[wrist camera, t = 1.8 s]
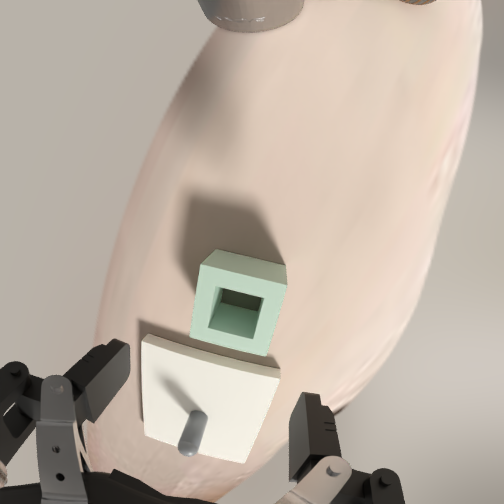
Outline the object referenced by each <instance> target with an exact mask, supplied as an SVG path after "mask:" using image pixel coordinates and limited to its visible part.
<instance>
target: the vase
mask: <svg viewBox="0 0 504 504" xmlns="http://www.w3.org/2000/svg"><path fill="white" fill-rule="evenodd" d="M400 1H403V2H405V3H409V4H414V5H425V4H429V3H432V2H434V1H436V0H400Z"/></svg>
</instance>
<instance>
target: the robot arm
mask: <svg viewBox="0 0 504 504" xmlns="http://www.w3.org/2000/svg"><path fill="white" fill-rule="evenodd" d="M198 2H199V4H200V6H201V8H202V10H203V12H204V14H205V16H206V17H207V19H209V20H210V21H211V22H212V23H213V24H215V25H217V26H219V27H221V28H224V29H227V30H231V31H237V32H260V31H266V30H271V29H275V28H278V27H280V26H283V25H285V24H287V23H288V22H290V21H292V20H293V19H294V18H295V17H296V16H298V15H299V13H300V12H301V10H302V8H303V4H304V0H198ZM129 374H130V346H129V344H127V343H125V342H122V341H120V340H117V339H112V340H111V341H110V342H109V343H108V344H107V345H106V346H105V345H103V344H101V345H99V346H96V347H94V348H92V349H91V350H90V351H89V352H88V353H87V355H85V356H84V357H82V359H80V360H79V361H78V362H77V363H76V364H75V365H74V366H73V367H71V368H70V369H69V370H68V371H67V372H66V373H65V374H64V375H63V376H60V375H51V376H48V377H47V378H45V379H42V378H39V377H36V376H33V375H30V374H29V370H28V368H27V366H26V365H25V364H23V363H21V362H18V361H14V362H9V363H7V364H6V365H5V366H4V367H2V368H1V369H0V504H216V503H212V502H207V501H203V500H199V499H193V498H181V497H172V496H166V495H163V494H161V493H160V492H158V491H156V490H155V489H153V488H151V487H150V486H148V485H146V484H145V483H143V482H142V481H140V480H139V479H136V478H134V477H131V476H129V475H127V474H125V473H122V472H120V471H118V470H116V469H113V471H112V473H111V474H110V473H105V472H93V469H92V466H91V463H90V459H89V455H88V451H87V445H86V440H85V434H84V428H83V422H84V421H85V420H86V419H87V420H89V421H91V422H92V423H95V421H96V420H97V419H98V417H99V416H100V415H101V413H102V412H103V411H104V409H105V408H106V407H107V405H108V404H109V403H110V401H111V400H112V399H113V397H114V396H115V395H116V394H117V392H118V391H119V390H120V388H121V387H122V386H123V384H124V383H125V382H126V381H127V379H128V377H129ZM14 402H15V404H14V405H13V407H12V408H11V409H10V410H9V411H8V412H7V413H6V414H5V415H4V413H5V412H6V410H7V409H8V408H9V407H10V406H11V405H12V404H13V403H14ZM3 415H4V416H3ZM35 427H36V444H37V458H38V469H39V477H40V482H39V483H33V484H26V485H18V486H8V487H4V485H5V484H6V483H7V470H6V466H7V464H8V463H9V461H10V460H11V459H12V457H13V456H14V455H15V453H16V452H17V451H18V449H19V448H20V447H21V445H22V444H23V443H24V441H25V440H26V439H27V438H28V436H29V435H30V434H31V433H32V431H33V430H34V429H35ZM289 482H297V485H296V486H295V487H294V488H293V489H292V490H291V491H289V492H288V493H286V494H285V495H284V496H283V497H282V498H281V499H280V500H279V501H277V502H276V503H275V504H405V501H404V496H403V492H402V487H401V483H400V479H399V477H398V475H397V474H396V473H395V472H394V471H392V470H390V469H386V468H381V469H377V470H376V471H374V472H373V473H372V474H368V473H364V472H360V471H356V470H354V469H352V468H351V466H350V464H349V463H348V462H347V461H346V460H345V459H343V458H342V457H341V450H340V445H339V440H338V435H337V432H336V425H335V419H334V414H333V413H332V411H331V410H330V409H329V407H328V406H323V405H321V400H320V395H319V394H314V393H307V392H302V393H301V395H300V397H299V399H298V402H297V404H296V406H295V408H294V410H293V412H292V414H291V417H290V421H289Z"/></svg>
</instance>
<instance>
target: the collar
mask: <svg viewBox="0 0 504 504" xmlns="http://www.w3.org/2000/svg"><path fill="white" fill-rule="evenodd" d="M223 288H225V289H229V290H233V291H237V292H241V293H245V294H249V295H253V296H258V297H262V298H261V302H260V306H259V310H258V311H254V310H250V309H246V308H241V307H237V306H233V305H229V304H226V303H222V302H221V298H222V293H223ZM286 288H287V275H286V265H282V264H277V263H273V262H269V261H265V260H261V259H256V258H252V257H248V256H244V255H240V254H236V253H232V252H227V251H223V250H219V249H215V250H214V251H213V252H212V253H211V254H210V255H209V256H208V257H207V258H206V259H205V260H204V261H203V262H202V263H201V265H200V270H199V276H198V283H197V289H196V295H195V302H194V308H193V315H192V322H191V329H190V336H189V337H191V338H194V339H198V340H201V341H205V342H208V343H212V344H216V345H219V346H223V347H227V348H231V349H235V350H239V351H243V352H247V353H252V354H256V355H261V356H265V357H266V355H267V352H268V349H269V346H270V342H271V339H272V336H273V333H274V329H275V326H276V323H277V319H278V316H279V313H280V309H281V306H282V302H283V299H284V295H285V292H286Z"/></svg>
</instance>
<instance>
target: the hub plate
mask: <svg viewBox="0 0 504 504" xmlns="http://www.w3.org/2000/svg"><path fill="white" fill-rule="evenodd" d="M141 372H142V401H143V417H144V430H145V435H146V436H148V437H151V438H153V439H156V440H159V441H162V442H164V443H167V444H170V445H173V446H176V447H178V450H179V452H180V453H181V454H182V455H184V456H188V457H190V456H194V455H195V454H196V453H200V454H204V455H207V456H211V457H215V458H220V459H224V460H229V461H234V462H239V463H245V461H246V459H247V457H248V454H249V452H250V450H251V448H252V446H253V444H254V441H255V439H256V437H257V435H258V432H259V430H260V428H261V425H262V423H263V421H264V418H265V416H266V414H267V411H268V409H269V406H270V404H271V401H272V399H273V396H274V394H275V391H276V389H277V386H278V384H279V381H280V369H277V368H272V367H268V366H263V365H258V364H254V363H249V362H245V361H241V360H237V359H233V358H229V357H225V356H221V355H217V354H213V353H210V352H206V351H202V350H199V349H196V348H192V347H189V346H185V345H182V344H179V343H176V342H173V341H170V340H166V339H163V338H160V337H157V336H155V335H152V334H149V333H148V334H147V335H146V336H145V337H144V339H143V340H142V343H141Z"/></svg>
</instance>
